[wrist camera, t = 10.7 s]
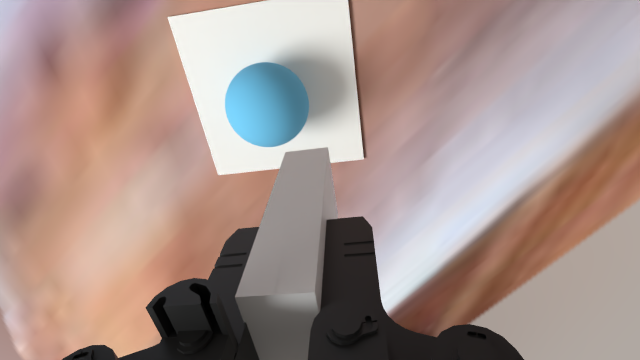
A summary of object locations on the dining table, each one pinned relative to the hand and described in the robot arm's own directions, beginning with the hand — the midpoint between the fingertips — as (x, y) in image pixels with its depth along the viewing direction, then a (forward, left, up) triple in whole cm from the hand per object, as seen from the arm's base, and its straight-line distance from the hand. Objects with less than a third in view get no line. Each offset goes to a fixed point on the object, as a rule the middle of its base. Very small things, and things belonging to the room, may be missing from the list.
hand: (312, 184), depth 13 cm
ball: (+3, -3, -12) cm, 12 cm away
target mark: (+3, -3, -14) cm, 15 cm away
